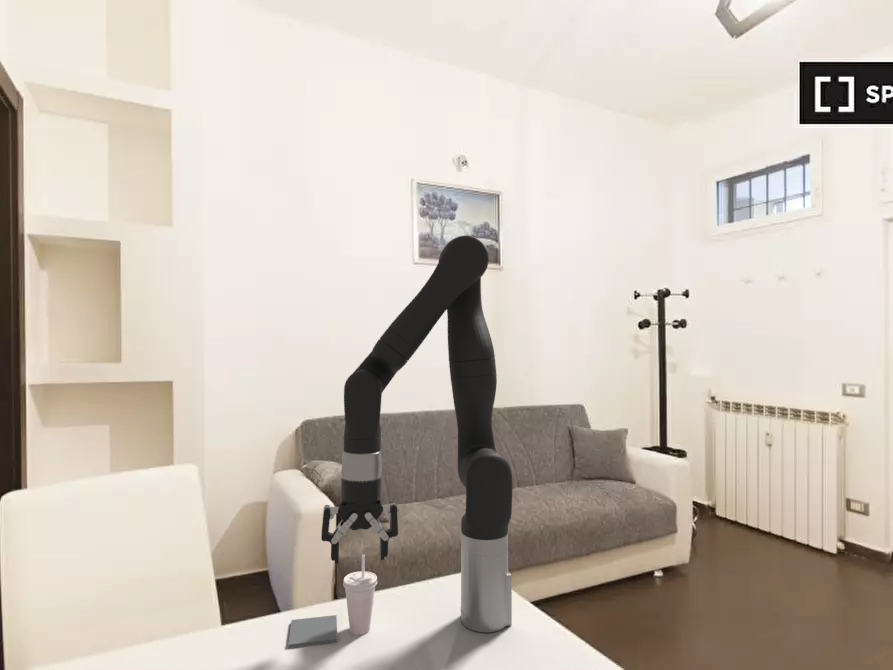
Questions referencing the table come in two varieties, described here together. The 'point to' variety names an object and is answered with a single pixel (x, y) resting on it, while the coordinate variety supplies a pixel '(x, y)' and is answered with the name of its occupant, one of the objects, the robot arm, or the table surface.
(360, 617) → the smoothie
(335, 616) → the coaster
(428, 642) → the table surface
